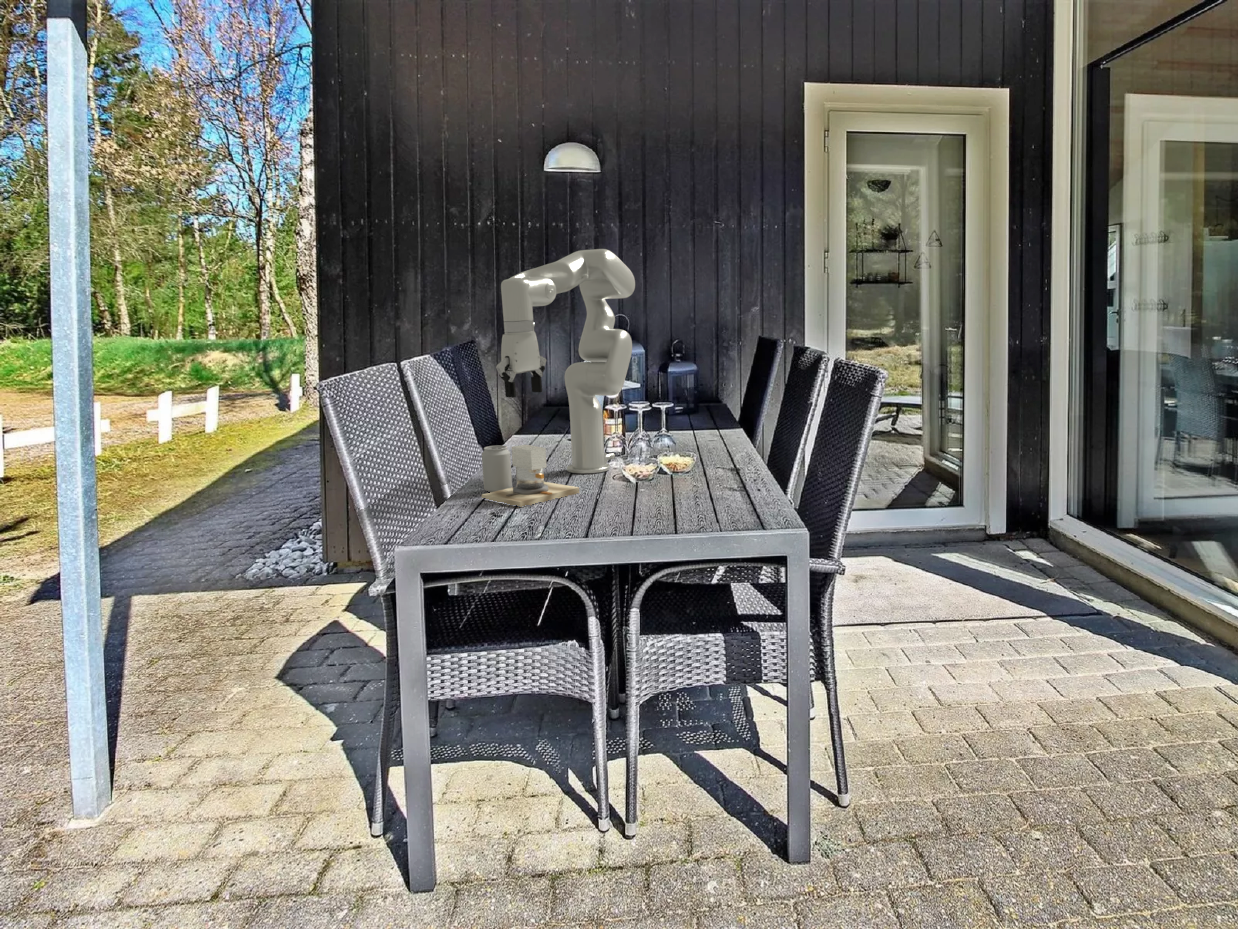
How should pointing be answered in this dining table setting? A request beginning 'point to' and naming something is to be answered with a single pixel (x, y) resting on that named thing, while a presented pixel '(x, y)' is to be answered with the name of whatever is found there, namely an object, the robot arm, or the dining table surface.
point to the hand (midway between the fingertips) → (524, 394)
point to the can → (496, 468)
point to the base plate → (531, 494)
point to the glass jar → (529, 466)
